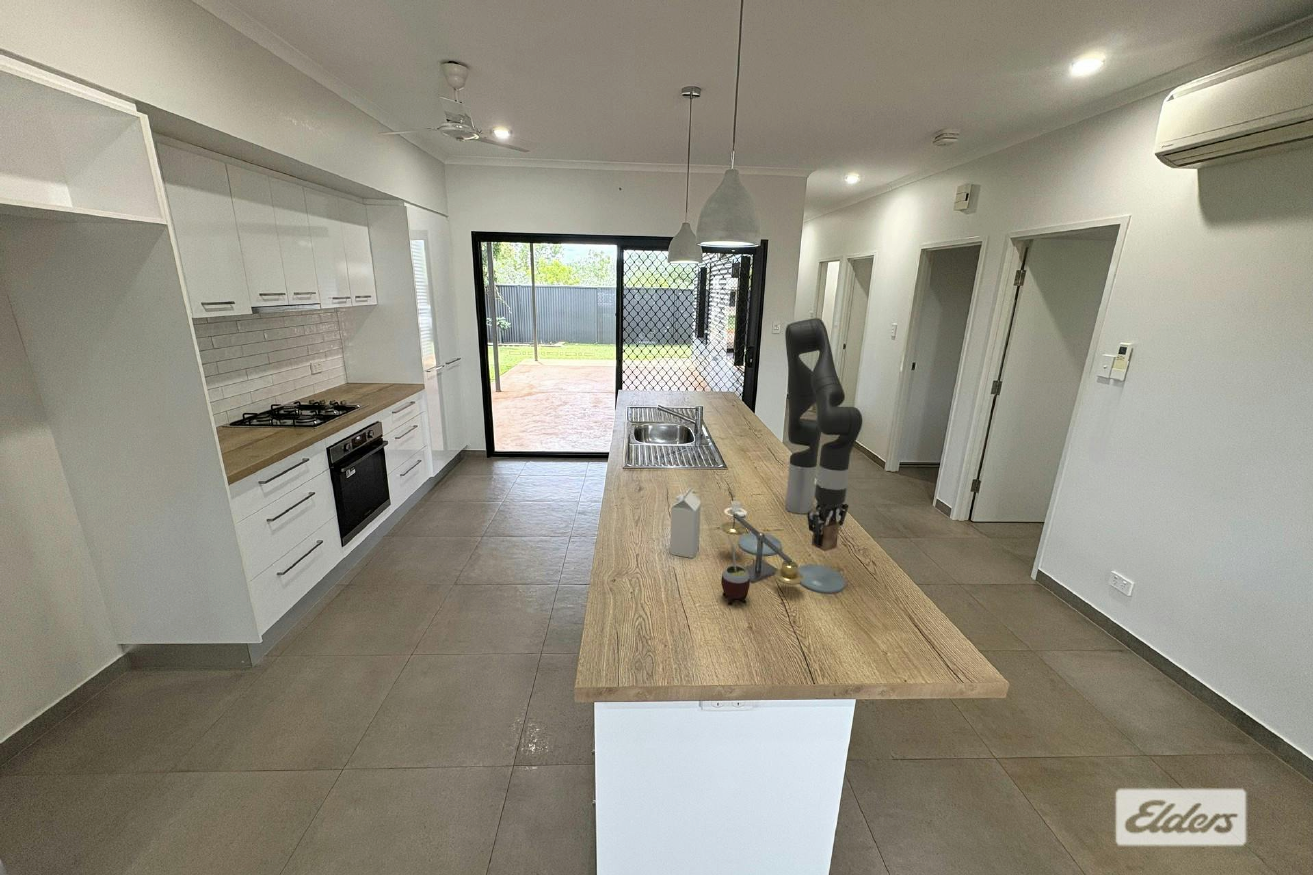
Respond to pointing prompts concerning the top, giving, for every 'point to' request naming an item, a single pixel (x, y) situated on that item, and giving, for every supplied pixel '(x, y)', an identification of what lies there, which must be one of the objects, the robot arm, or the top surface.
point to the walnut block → (829, 536)
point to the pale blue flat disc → (750, 544)
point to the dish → (822, 579)
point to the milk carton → (685, 525)
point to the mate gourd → (735, 581)
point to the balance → (761, 568)
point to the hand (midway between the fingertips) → (824, 543)
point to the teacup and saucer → (736, 509)
